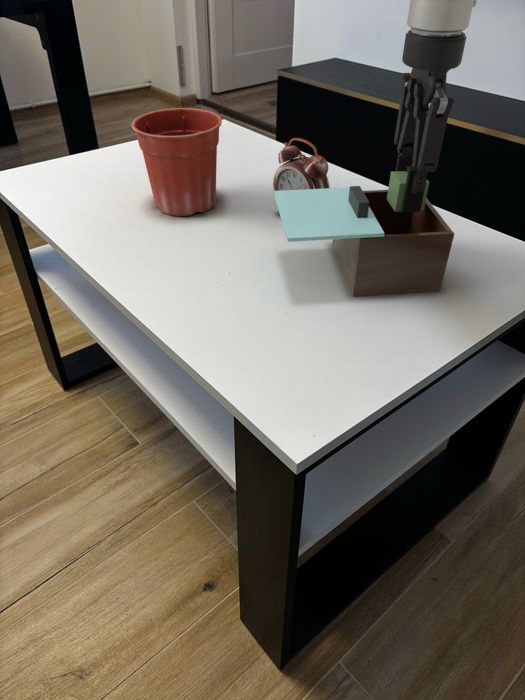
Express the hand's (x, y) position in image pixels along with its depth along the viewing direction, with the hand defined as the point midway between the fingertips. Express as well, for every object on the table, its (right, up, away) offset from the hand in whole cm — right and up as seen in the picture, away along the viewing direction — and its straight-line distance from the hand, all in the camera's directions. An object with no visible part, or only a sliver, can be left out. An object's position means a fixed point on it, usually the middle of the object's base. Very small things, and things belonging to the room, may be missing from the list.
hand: (405, 203), depth 83 cm
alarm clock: (-15, +3, +21) cm, 26 cm away
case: (-2, -9, +7) cm, 11 cm away
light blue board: (-12, -2, 0) cm, 13 cm away
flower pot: (-38, +7, +26) cm, 46 cm away
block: (0, 0, 0) cm, 0 cm away
